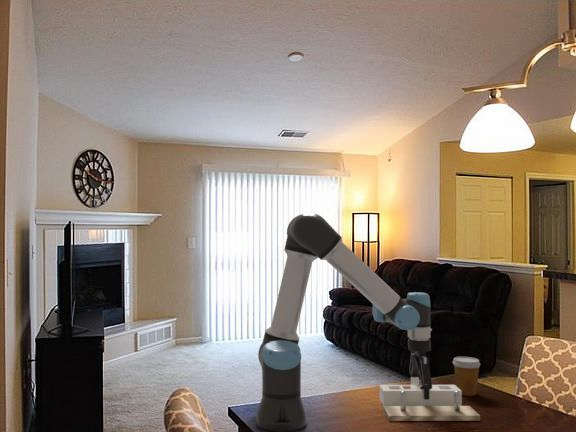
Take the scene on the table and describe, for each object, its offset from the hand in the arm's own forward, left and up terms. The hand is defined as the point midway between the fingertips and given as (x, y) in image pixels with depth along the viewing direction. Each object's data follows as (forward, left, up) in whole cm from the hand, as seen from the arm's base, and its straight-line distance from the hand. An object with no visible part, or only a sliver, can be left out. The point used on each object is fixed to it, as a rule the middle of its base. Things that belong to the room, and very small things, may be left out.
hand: (420, 402), depth 173 cm
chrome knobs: (+8, -9, 0) cm, 13 cm away
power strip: (0, 0, 0) cm, 0 cm away
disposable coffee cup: (+7, +21, 0) cm, 22 cm away
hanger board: (+8, -9, 0) cm, 13 cm away
